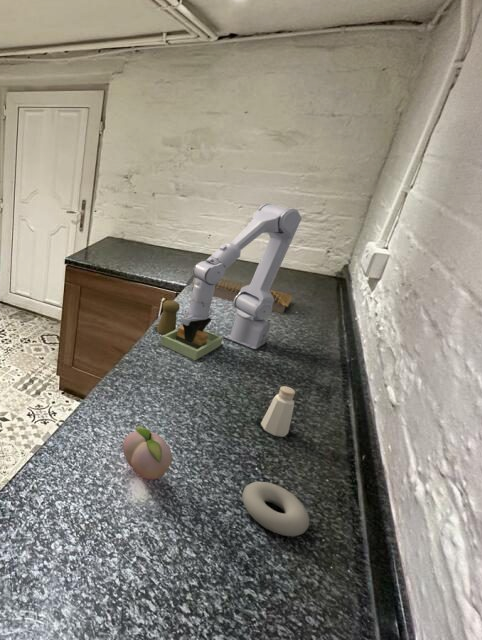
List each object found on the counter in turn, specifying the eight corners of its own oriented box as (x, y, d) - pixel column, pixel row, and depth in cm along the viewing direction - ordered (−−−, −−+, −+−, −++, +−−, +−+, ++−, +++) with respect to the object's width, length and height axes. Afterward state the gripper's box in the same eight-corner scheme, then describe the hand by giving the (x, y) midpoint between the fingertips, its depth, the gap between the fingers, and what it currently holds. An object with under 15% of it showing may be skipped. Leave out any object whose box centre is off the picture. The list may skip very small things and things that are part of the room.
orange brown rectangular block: (205, 346, 125) (208, 334, 123) (199, 350, 123) (202, 337, 121) (181, 336, 131) (184, 324, 129) (175, 339, 129) (178, 327, 127)
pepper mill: (177, 336, 132) (183, 306, 128) (158, 334, 133) (164, 304, 129) (173, 328, 138) (179, 299, 134) (155, 326, 139) (160, 297, 135)
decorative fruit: (176, 487, 76) (187, 446, 72) (139, 497, 73) (148, 455, 70) (146, 451, 84) (154, 413, 80) (112, 459, 82) (119, 420, 78)
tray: (220, 345, 127) (222, 337, 126) (195, 360, 118) (197, 351, 117) (186, 331, 136) (188, 323, 134) (160, 344, 127) (162, 335, 126)
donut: (277, 489, 76) (228, 491, 75) (282, 476, 75) (233, 478, 74) (320, 539, 67) (265, 542, 66) (327, 525, 65) (271, 528, 64)
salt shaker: (288, 440, 88) (304, 400, 84) (260, 431, 91) (273, 391, 86) (287, 426, 92) (302, 387, 88) (260, 417, 95) (273, 379, 91)
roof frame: (290, 303, 160) (295, 289, 158) (285, 314, 150) (290, 300, 148) (199, 281, 182) (202, 269, 179) (189, 290, 172) (192, 276, 169)
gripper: (200, 291, 128) (191, 328, 133) (175, 300, 120) (167, 340, 125) (222, 298, 123) (212, 336, 128) (198, 309, 115) (188, 349, 120)
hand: (191, 339), depth 126 cm, fingers closed on orange brown rectangular block, 3 cm apart
